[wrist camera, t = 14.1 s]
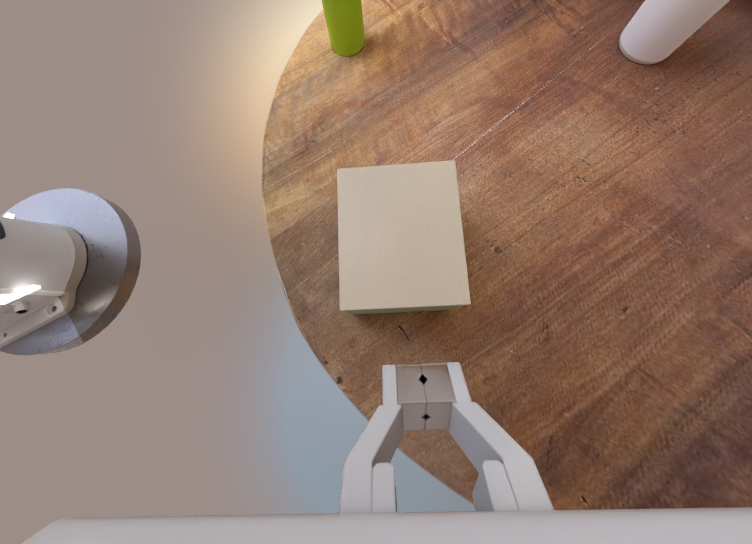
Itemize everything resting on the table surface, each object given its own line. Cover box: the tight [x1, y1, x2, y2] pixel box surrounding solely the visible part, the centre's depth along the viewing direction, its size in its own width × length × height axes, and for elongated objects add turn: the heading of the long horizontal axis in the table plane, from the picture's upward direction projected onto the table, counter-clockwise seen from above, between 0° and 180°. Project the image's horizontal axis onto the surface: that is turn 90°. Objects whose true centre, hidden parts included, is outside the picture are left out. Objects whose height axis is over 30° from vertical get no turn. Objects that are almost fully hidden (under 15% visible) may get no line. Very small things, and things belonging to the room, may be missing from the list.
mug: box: [619, 0, 729, 64], centre depth 39 cm, size 11×9×10 cm
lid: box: [337, 160, 471, 311], centre depth 30 cm, size 16×14×1 cm
